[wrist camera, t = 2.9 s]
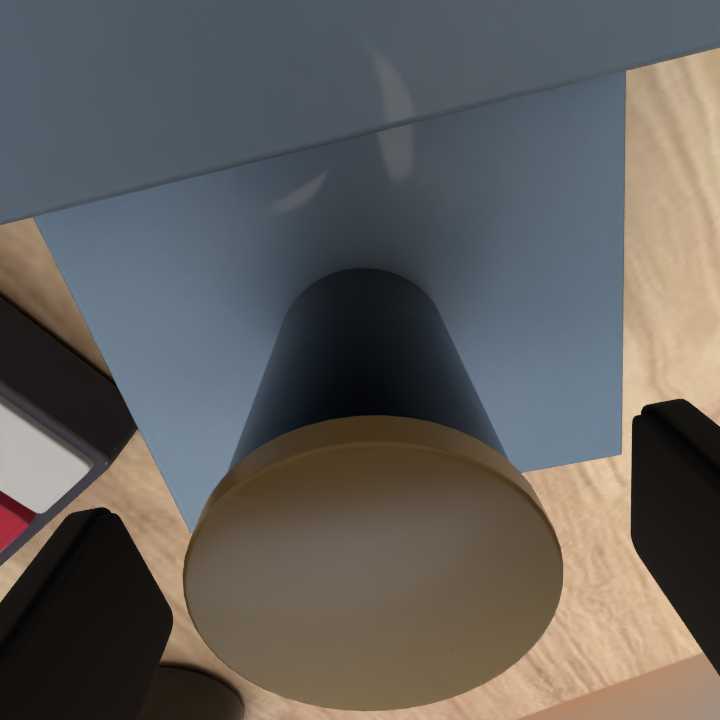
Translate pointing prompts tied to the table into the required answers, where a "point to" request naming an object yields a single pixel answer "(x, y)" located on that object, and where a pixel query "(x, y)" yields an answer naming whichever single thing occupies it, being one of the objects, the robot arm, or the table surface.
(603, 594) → the table surface
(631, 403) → the table surface
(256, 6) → the blue-grey angular block
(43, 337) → the calculator
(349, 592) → the dark jar with lid
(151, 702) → the ink bottle
